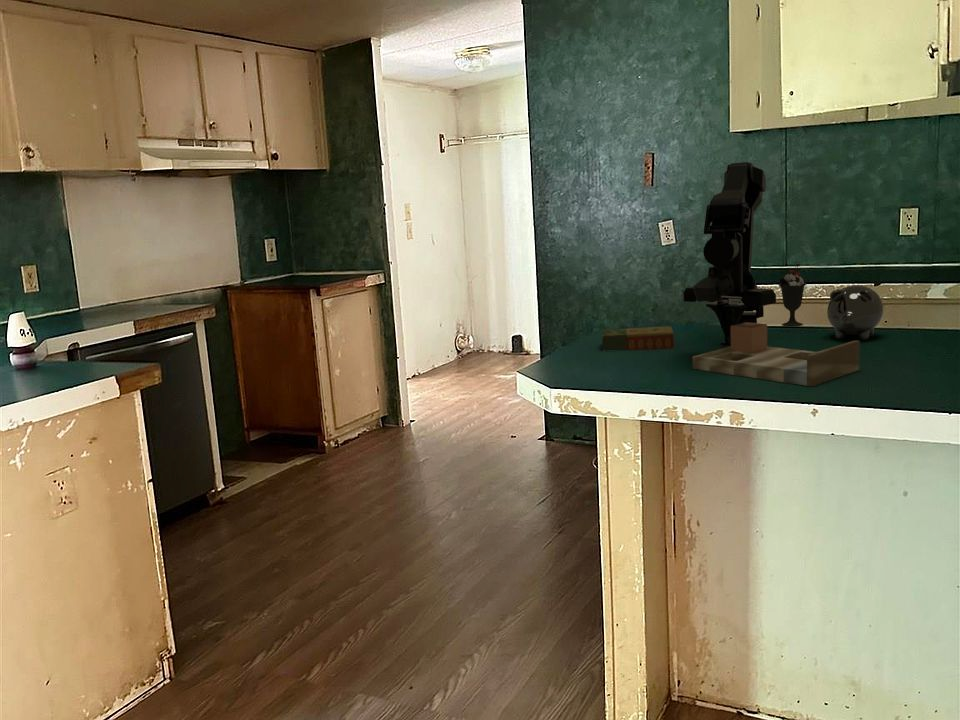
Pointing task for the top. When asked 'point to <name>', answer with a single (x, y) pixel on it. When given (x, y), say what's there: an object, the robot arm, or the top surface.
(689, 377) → the top surface
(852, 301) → the piggy bank
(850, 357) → the brown wooden compartment tray
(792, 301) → the sundae
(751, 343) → the block
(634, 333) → the carton
